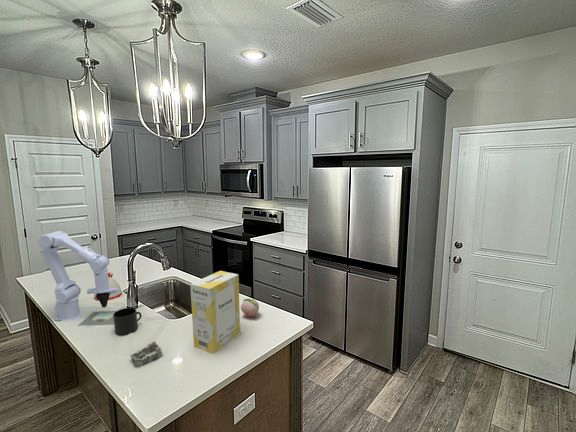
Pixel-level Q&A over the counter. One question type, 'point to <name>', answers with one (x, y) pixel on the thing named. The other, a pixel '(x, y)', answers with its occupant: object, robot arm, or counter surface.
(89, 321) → the picture frame
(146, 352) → the grey rough flat block
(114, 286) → the cream dome
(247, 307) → the decorative fruit
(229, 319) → the pasta box
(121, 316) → the mug
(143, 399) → the counter surface
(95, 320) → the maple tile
